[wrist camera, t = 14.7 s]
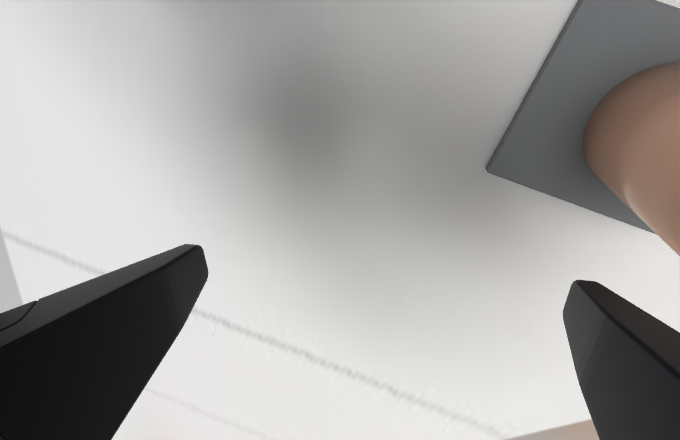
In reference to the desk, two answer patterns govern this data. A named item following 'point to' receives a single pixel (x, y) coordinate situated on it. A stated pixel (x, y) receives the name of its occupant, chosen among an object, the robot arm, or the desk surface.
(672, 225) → the peach cylinder
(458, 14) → the desk surface
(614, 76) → the rubber mat
